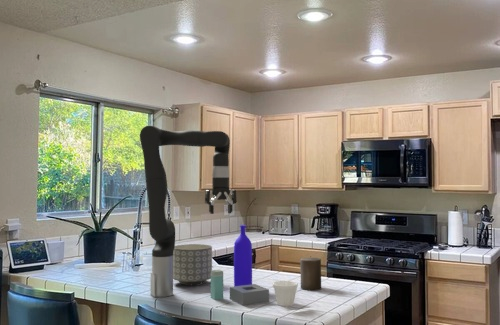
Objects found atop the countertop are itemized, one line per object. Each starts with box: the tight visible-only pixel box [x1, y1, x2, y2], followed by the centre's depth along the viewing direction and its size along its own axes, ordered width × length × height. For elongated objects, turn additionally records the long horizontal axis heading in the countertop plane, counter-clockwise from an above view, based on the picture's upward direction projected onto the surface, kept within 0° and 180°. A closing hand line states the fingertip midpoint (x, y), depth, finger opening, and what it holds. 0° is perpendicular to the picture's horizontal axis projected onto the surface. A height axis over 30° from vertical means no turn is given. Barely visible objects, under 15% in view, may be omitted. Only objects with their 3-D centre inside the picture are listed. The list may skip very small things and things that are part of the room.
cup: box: [272, 280, 298, 307], centre depth 190 cm, size 10×10×9 cm
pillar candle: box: [299, 256, 322, 291], centre depth 223 cm, size 10×10×15 cm
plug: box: [210, 269, 224, 301], centre depth 200 cm, size 4×4×12 cm
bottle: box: [233, 224, 253, 287], centre depth 217 cm, size 8×8×30 cm
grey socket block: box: [229, 283, 270, 306], centre depth 196 cm, size 12×12×6 cm
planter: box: [173, 243, 213, 287], centre depth 233 cm, size 19×19×18 cm
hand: (220, 213), depth 210 cm, fingers open, 8 cm apart
